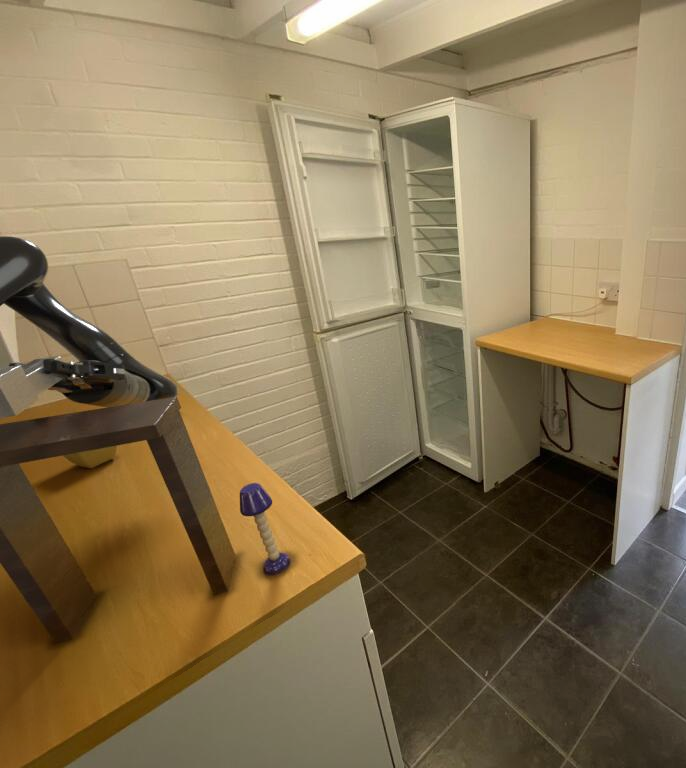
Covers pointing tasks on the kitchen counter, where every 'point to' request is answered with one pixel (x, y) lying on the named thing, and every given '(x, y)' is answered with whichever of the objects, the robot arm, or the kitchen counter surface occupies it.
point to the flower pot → (92, 457)
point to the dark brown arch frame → (40, 535)
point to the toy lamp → (263, 525)
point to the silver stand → (23, 386)
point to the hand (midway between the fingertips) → (30, 367)
